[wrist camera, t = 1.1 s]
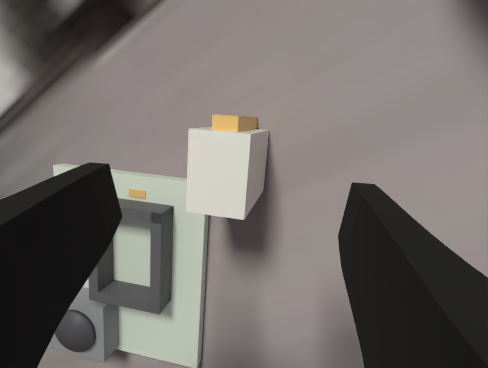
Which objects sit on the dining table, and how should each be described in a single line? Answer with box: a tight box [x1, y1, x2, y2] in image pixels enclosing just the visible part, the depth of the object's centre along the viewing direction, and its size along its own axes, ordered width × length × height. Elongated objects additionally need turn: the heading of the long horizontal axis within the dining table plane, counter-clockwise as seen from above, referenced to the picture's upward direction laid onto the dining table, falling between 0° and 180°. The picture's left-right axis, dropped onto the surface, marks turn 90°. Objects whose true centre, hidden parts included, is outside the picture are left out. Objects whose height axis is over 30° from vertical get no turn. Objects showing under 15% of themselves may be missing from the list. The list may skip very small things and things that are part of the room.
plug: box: [186, 114, 269, 220], centre depth 19 cm, size 5×3×7 cm, turn 176°
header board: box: [51, 164, 209, 368], centre depth 24 cm, size 16×13×3 cm
